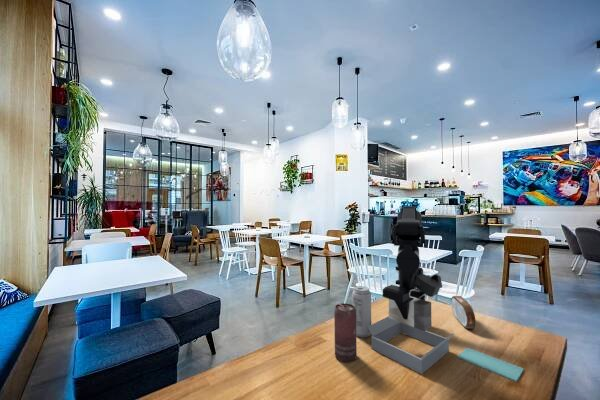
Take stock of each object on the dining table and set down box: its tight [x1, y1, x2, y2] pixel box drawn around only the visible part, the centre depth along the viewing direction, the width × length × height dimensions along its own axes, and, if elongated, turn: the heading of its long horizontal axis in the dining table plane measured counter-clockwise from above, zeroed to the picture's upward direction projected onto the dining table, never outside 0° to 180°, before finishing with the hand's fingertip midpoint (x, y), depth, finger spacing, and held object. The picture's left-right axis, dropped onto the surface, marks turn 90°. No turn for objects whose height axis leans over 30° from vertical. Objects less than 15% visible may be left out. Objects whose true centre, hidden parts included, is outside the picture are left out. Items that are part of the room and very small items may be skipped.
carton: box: [368, 315, 455, 375], centre depth 78 cm, size 19×16×6 cm
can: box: [333, 303, 358, 363], centre depth 75 cm, size 6×6×14 cm
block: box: [388, 296, 432, 331], centre depth 78 cm, size 11×4×7 cm, turn 39°
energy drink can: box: [351, 285, 372, 338], centre depth 88 cm, size 6×6×15 cm
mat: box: [457, 347, 525, 382], centre depth 71 cm, size 13×7×1 cm, turn 39°
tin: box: [451, 295, 477, 330], centre depth 95 cm, size 15×3×8 cm, turn 168°
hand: (409, 317), depth 78 cm, fingers closed on block, 4 cm apart
